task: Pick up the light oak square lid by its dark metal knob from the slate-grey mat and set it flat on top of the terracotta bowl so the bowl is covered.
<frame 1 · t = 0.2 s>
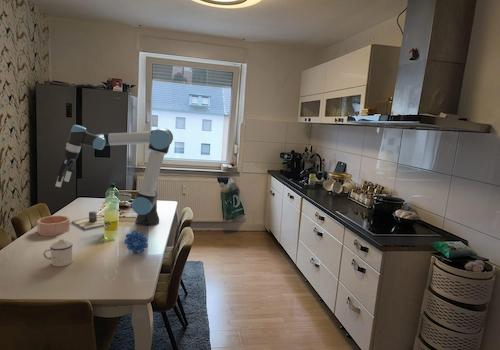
hand: (62, 183, 198), 27 cm above the table, tool tilted 15°, fingers open, 13 cm apart
slate mat: (92, 224, 210), on the table
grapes: (136, 253, 172), on the table
terracotta bowl: (54, 231, 195), on the table
teacup with lid: (58, 263, 156), on the table
food container: (124, 205, 256), on the table
oak lid: (92, 223, 210), point 1 cm above the table, touching slate mat
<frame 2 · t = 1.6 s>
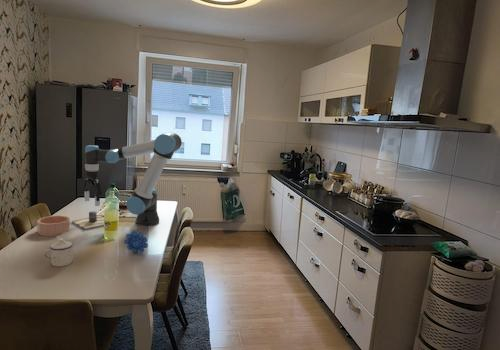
hand: (92, 203, 208), 14 cm above the table, tool pointing down, fingers open, 13 cm apart
nothing on the table moved.
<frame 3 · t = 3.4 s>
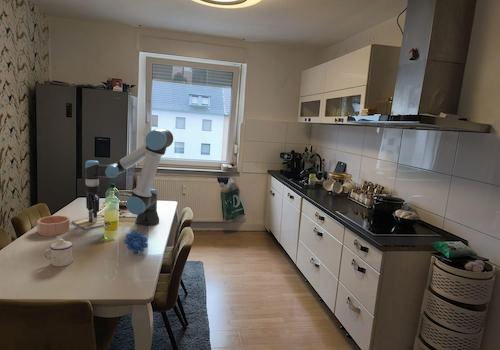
hand: (92, 220, 210), 2 cm above the table, tool pointing down, fingers closed on oak lid, 4 cm apart
oak lid: (92, 223, 210), point 1 cm above the table, touching gripper, slate mat
everything else where it was.
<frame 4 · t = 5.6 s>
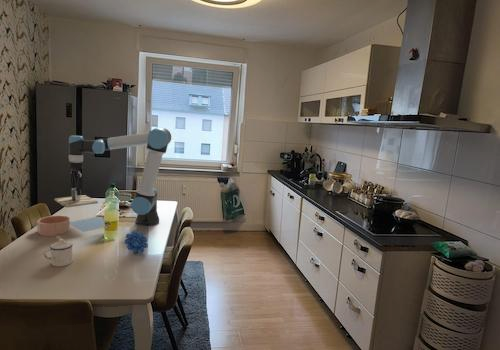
hand: (76, 199, 201), 17 cm above the table, tool pointing down, fingers closed on oak lid, 4 cm apart
oak lid: (76, 201, 202), point 16 cm above the table, touching gripper
everything else where it was.
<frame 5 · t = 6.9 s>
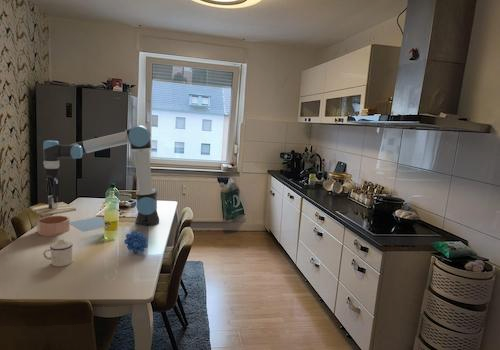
hand: (53, 207, 192), 15 cm above the table, tool pointing down, fingers closed on oak lid, 4 cm apart
oak lid: (53, 209, 193), point 13 cm above the table, touching gripper
everything else where it was.
when the fingers open (10 cm above the table, at t = 7.8 s): oak lid drops 2 cm, resting on terracotta bowl.
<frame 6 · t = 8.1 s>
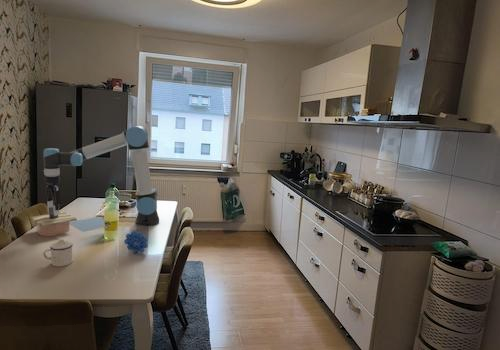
hand: (53, 213, 193), 11 cm above the table, tool pointing down, fingers open, 8 cm apart
oak lid: (53, 219, 194), point 7 cm above the table, touching terracotta bowl
everything else where it was.
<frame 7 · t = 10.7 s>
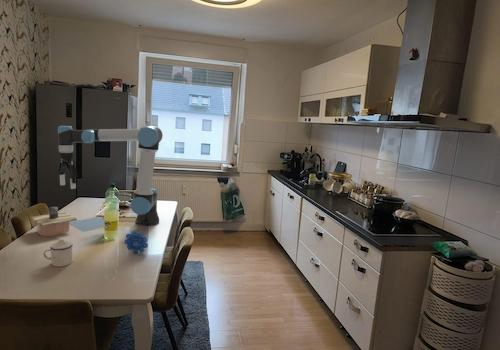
hand: (67, 186, 200), 25 cm above the table, tool pointing down, fingers open, 13 cm apart
nothing on the table moved.
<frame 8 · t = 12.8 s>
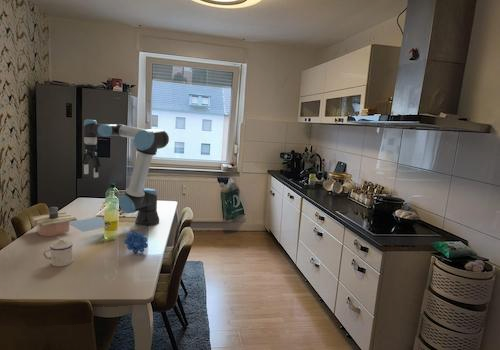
hand: (91, 175, 219), 29 cm above the table, tool pointing down, fingers open, 13 cm apart
nothing on the table moved.
at the end: oak lid 0.0 cm off-centre on the terracotta bowl, point 7.0 cm above the terracotta bowl's base; oak lid tilted 0°; the gripper is holding nothing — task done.
